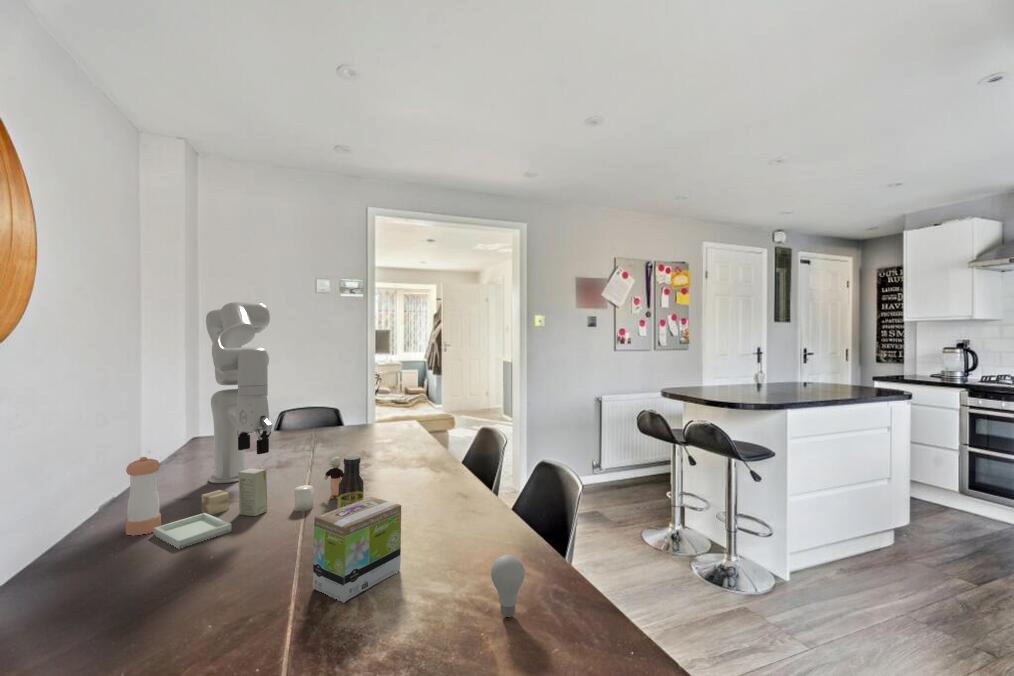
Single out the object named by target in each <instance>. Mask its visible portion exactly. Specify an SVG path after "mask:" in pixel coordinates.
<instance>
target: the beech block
mask: <svg viewBox="0 0 1014 676" xmlns="http://www.w3.org/2000/svg"><path fill="white" fill-rule="evenodd" d="M229 499H230V493H229V492H227V491H224V490H221V489H218V490H214V491H210V492H207V493H203V494H201V512H202V513H207V514H209V515H212V516H213V515H216V514H219V513H222V512H225V511H228V510H230V506H229V505H230V501H229Z"/></svg>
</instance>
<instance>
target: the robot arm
mask: <svg viewBox="0 0 1014 676" xmlns="http://www.w3.org/2000/svg"><path fill="white" fill-rule="evenodd" d="M270 315H271V314H270V310H269V309H268V307H267V306H266V305H265V304H263V303H262V302H261V303H259V302H243V301H241V302H239V301H234V302H233V301H232V302H228V303H226V304H224V305H223V306H222V307H221V308H220V309H219V308H218V309H213V310H210V311H209V312H207V314H206V317H205V325H206V330H207V334H208V335H209V338H210V341H211V342H212V345H211V356H212V361H213V362H212V363H213V365H214V375H215V376H214V377H215V381H216V384H218V385H220V386H237V388H229V389H222V390H218V391H216V392H214V393H213V395H212V396H211V399H210V406H211V413H212V421H213V467H212V470H213V474H212V475H210V476H209V477H208V481H209V482H210V483H212V484H228V483H230V484H231V483H235V482H239V472H240V471H243V470H246V450H249V449H251V434H254V433H255V434H256V438H257V440H256V455H263V454H268V453H269V452H270V444H269V443H270V439H271V434H272V429H273V424H272V423H271V421H270V414H269V413H270V412H269V410H270V409H269V401H268V395H269V394H268V393H269V391H268V389H269V388H268V386H269V385H268V384H269V383H268V381H269V380H268V379H269V378H268V375H269V374H268V366H269V364H270V358H269V353H268V352H267V350H266V349H265V348H263V347H258V346H257V347H245V346H244V345H247V344H249V343H250V342H252V341H253V339H254V338H255V336H256V334H259V333H262V331H264V330H265V329H266V328H267V327H268V326H269V324H270V320H271V316H270ZM242 346H243V347H242Z"/></svg>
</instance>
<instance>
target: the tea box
mask: <svg viewBox="0 0 1014 676" xmlns="http://www.w3.org/2000/svg"><path fill="white" fill-rule="evenodd" d="M313 525H314V527H313V558H312V560H313V561H312V563H313V564H312V565H313V566H312V567H313V569H312V589H314V590H316V591H318V592H319V593H321V592H322V593H321V594H323V593H324V595H325V594H326V595H325V596H327V595H328V597H330V598H332V597H333V598H332V599H333V600H336V599H337V600H336V601H338V602H340V601H341V602H340V603H343V604H344V603H346V602H348V601H349V600H350V599H353V598H354V597H355V596H358V595H359V594H361V593H363V592H365V591H366V590H368V589H369V588H371V587H374V586H375V585H377V584H379V583H381V582H382V581H385V579H388V578H390V577H392V576H394V575H396V574H397V573H399V572H400V571H401V561H402V560H401V554H402V551H401V546H402V538H401V537H402V536H401V535H402V504H399V503H396V502H395V503H394V502H392V501H389V500H385V499H381V498H377V497H374V496H369V497H367V498H363V500H361V501H358V502H355V503H352V504H350V505H347V506H344V507H341V508H338V509H337V508H336V509H334V510H331V511H327V512H324V513H322V514H319V515H316V516H315V517H314V524H313ZM398 571H399V572H398ZM396 572H397V573H396ZM395 573H396V574H395ZM393 574H394V575H393Z"/></svg>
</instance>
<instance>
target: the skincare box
mask: <svg viewBox="0 0 1014 676" xmlns="http://www.w3.org/2000/svg"><path fill="white" fill-rule="evenodd" d="M267 481H268V480H267V469H263V468H262V469H261V468H254V467H250V468H247V469H246V468H245V470H243V471H240V472H239V481H238V494H239V495H238V497H239V498H238V499H239V500H238V501H239V515H243V516H251V517H257V516H259V515H262V514H263V513H266V512H268V489H267V487H268V485H267V484H268V483H267Z"/></svg>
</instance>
